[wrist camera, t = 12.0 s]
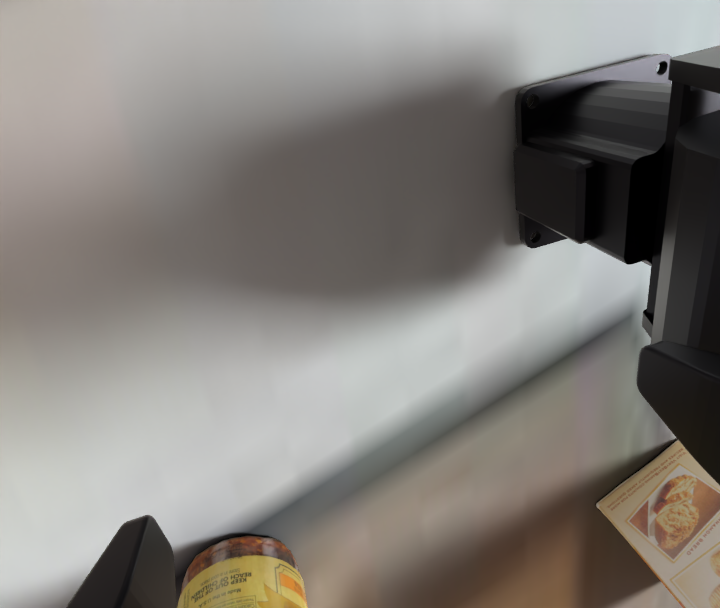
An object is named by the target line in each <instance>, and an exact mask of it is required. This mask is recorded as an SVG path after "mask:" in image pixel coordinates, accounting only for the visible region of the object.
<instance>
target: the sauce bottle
mask: <svg viewBox="0 0 720 608" xmlns="http://www.w3.org/2000/svg"><path fill="white" fill-rule="evenodd" d="M180 595H181V596H180V598H179V601H178V606H177V608H308V607H307V601H306V595H305V589H304V582H303V580H302V577H301V575H300V574H299V570H298V565H297V564H296V562H295V558H294V557H293V555H292V554H291V552H290V550H288V549H287V548H286V546H285V545H284V544H283V543H282V542H281V541H279V540H277V539H273V538H272V537H270V538H263V537H258V536H243V537H236V538H231V539H228V540H223V541H221V542H220V543H217V544H216V545H212V546H210V547H209V548H207V549H206V550H204V551H203V552H201V553H199V554H198V555H196V557H195V558H194V560H193V561H192V563H191V564H190V566H189V567H188V569H187V572H186V575H185V578H184V581H183V583H182V589H181V594H180Z"/></svg>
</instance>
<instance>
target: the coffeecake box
mask: <svg viewBox="0 0 720 608" xmlns="http://www.w3.org/2000/svg"><path fill="white" fill-rule="evenodd" d="M596 507H597V508H598V509H599V510H600V511H601V512H602V513H603V514H604V515H605V516H606V517H607V518H608V519H609V520H610V521H611V523H612V524H613V525H614V526H615V527H616V528H617V530H618V531H619V532H620V533H621V534H622V535H623V537H624V538H625V539H626V540H627V541H628V543H629V544H630V545H631V546H632V547H633V548H634V550H635V551H636V552H637V553H638V554H639V556H640V557H641V558H642V559H643V560H644V562H645V563H646V564H647V565H648V566H649V568H650V569H651V570H652V571H653V572H654V574H655V575H656V576H657V577H658V578H659V579H660V581H661V582H662V583H663V584H664V585H665V587H666V588H667V589H668V590H669V591H670V593H671V594H672V595H673V596H674V597H675V599H676V600H677V601H678V602H679V603H680V605H681V606H682V607H683V608H720V485H719V484H718V483H717V482H716V481H715V480H714V479H713V478H712V477H711V476H710V475H709V474H708V473H707V472H706V471H705V470H704V469H703V468H702V467H701V466H700V465H699V464H698V462H697V461H696V460H695V459H694V458H693V457H692V456H691V454H690V453H689V452H688V451H687V450H686V449H685V447H684V446H683V445H682V444H681V442H680V441H679V440H677V441H675V442H674V443H673V444H672V445H671V446H669V447H668V448H667V449H666V450H665V451H663V452H662V453H661V454H660V455H659V456H658V457H656V458H655V459H654V460H653V461H651V462H650V463H649V464H647V465H646V466H644V467H643V468H642V469H641V470H639V471H638V472H637V473H635V474H634V475H632V476H631V477H630V478H628V479H627V480H626V481H624V482H623V483H621V484H620V485H619V486H618V487H616V488H615V489H614V490H613V491H611V492H610V493H609V494H608V495H606V496H605V497H604V498H603V499H601V500H600V501H599V502H598V503H597V504H596Z"/></svg>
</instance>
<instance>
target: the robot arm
mask: <svg viewBox="0 0 720 608" xmlns="http://www.w3.org/2000/svg"><path fill="white" fill-rule="evenodd" d="M658 64H659V65H660V67H659V70H658V72H657V73H656V68H657V65H658ZM671 81H672V84H671ZM530 95H533V103H532V104H531V106H529V107H528V106H527V99H528V97H529V96H530ZM515 112H516V140H517V147H516V149H515V151H514V172H515V198H516V210H517V211H518V212H519V223H520V239H521V242H522V243H523V244H524V245H526V246H527V247H530V248H537V247H540V246H544V245H547V244H550V243H554V242H557V241H560V240H564V239H567V238H568V239H570V240H572V241H574V242H576V243H578V244H582V243H587V244H589V245H591V246H593V247H595V248H597V249H599V250H601V251H603V252H604V253H606V254H608V255H610V256H612V257H614V258H616V259H618V260H620V261H622V262H624V263H626V264H634V263H637V262H640V261H642V262H644V263H646V264H648V265H650V266H652V267H651V276H650V285H649V294H648V303H647V309H646V310H644V311H643V319H642V326H643V328H644V329H645V330H646V332H647V333H648V335H649V336H650V337H651V344H650V345H647V346H645V347H643V348H642V349H641V351H640V354H639V362H638V371H637V386H638V389H639V391H640V393H641V394H642V396H643V397H644V398H645V399H646V401H647V402H648V403H649V404H650V406H651V407H652V408H653V409H654V411H655V412H656V413H657V414H658V415H659V417H660V418H661V419H662V420H663V422H664V423H665V424H666V425H667V426H668V428H669V429H670V430H671V431H672V433H673V434H674V435H675V436H676V438H677V439H678V440H679V441H680V442H681V444H682V445H683V446H684V447H685V449H686V450H687V451H688V452H689V453H690V454H691V456H692V457H693V458H694V459H695V460H696V461H697V462H698V464H699V465H700V466H701V467H702V468H703V469H704V470H705V471H706V472H707V473H708V474H709V475H710V476H711V477H712V478H713V479H714V480H715V481H716V482H717V483H718V484H719V485H720V46H716V47H712V48H708V49H704V50H700V51H696V52H692V53H688V54H684V55H680V56H676V57H673V58H672V57H671V56H670V55H668V54H653V55H649V56H645V57H641V58H637V59H633V60H629V61H625V62H621V63H618V64H614V65H610V66H606V67H602V68H598V69H594V70H590V71H586V72H582V73H578V74H574V75H570V76H566V77H562V78H558V79H554V80H550V81H546V82H542V83H538V84H534V85H530V86H527V87H525V88H523V89H521V90H520V92H519V93H518V95H517V97H516V101H515ZM534 232H536V235H535V237H534V238H533V239H531V240H530V237H531V235H532V233H534ZM66 608H176V588H175V569H174V556H173V551H172V548H171V545H170V543H169V542H168V540H167V538H166V537H165V535H164V533H163V532H162V530H161V528H160V527H159V525H158V524H157V522H156V520H155V519H154V518H153V517H152V516H150V515H145V516H142V517H139V518H136V519H133V520H130V521H127V522H126V523H124V524H123V525H122V526H121V527H120V529H119V530H118V532H117V533H116V535H115V536H114V538H113V539H112V540H111V542H110V543H109V545H108V546H107V548H106V549H105V551H104V552H103V554H102V555H101V557H100V558H99V560H98V561H97V563H96V564H95V566H94V567H93V569H92V570H91V571H90V573H89V574H88V576H87V577H86V579H85V580H84V582H83V583H82V585H81V586H80V588H79V589H78V591H77V592H76V594H75V595H74V597H73V598H72V600H71V601H70V603H69V604H68V605H67V607H66Z"/></svg>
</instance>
